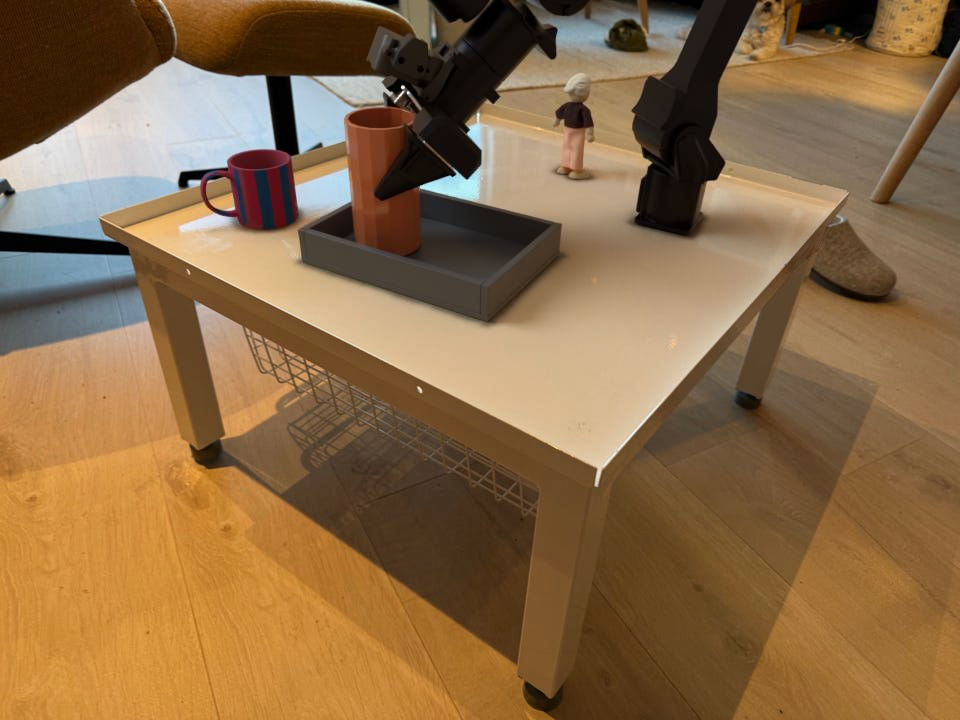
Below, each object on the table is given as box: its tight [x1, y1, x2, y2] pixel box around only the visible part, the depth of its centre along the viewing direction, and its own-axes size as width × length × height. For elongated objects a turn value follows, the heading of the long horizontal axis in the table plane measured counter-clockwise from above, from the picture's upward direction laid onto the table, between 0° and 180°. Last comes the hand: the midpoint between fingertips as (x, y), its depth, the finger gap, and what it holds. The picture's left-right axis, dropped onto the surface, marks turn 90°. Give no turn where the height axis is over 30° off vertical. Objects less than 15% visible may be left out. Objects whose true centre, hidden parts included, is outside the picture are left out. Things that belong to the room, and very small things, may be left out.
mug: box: [199, 148, 300, 231], centre depth 76 cm, size 7×10×7 cm
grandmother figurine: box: [551, 72, 596, 180], centre depth 90 cm, size 8×4×13 cm, turn 46°
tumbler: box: [343, 106, 421, 256], centre depth 69 cm, size 7×7×13 cm
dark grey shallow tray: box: [297, 188, 563, 323], centre depth 71 cm, size 22×16×4 cm
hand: (371, 183), depth 69 cm, fingers closed on tumbler, 7 cm apart
